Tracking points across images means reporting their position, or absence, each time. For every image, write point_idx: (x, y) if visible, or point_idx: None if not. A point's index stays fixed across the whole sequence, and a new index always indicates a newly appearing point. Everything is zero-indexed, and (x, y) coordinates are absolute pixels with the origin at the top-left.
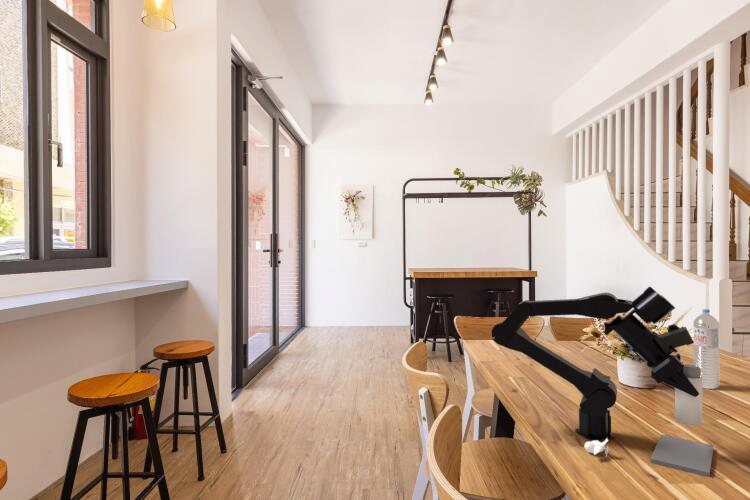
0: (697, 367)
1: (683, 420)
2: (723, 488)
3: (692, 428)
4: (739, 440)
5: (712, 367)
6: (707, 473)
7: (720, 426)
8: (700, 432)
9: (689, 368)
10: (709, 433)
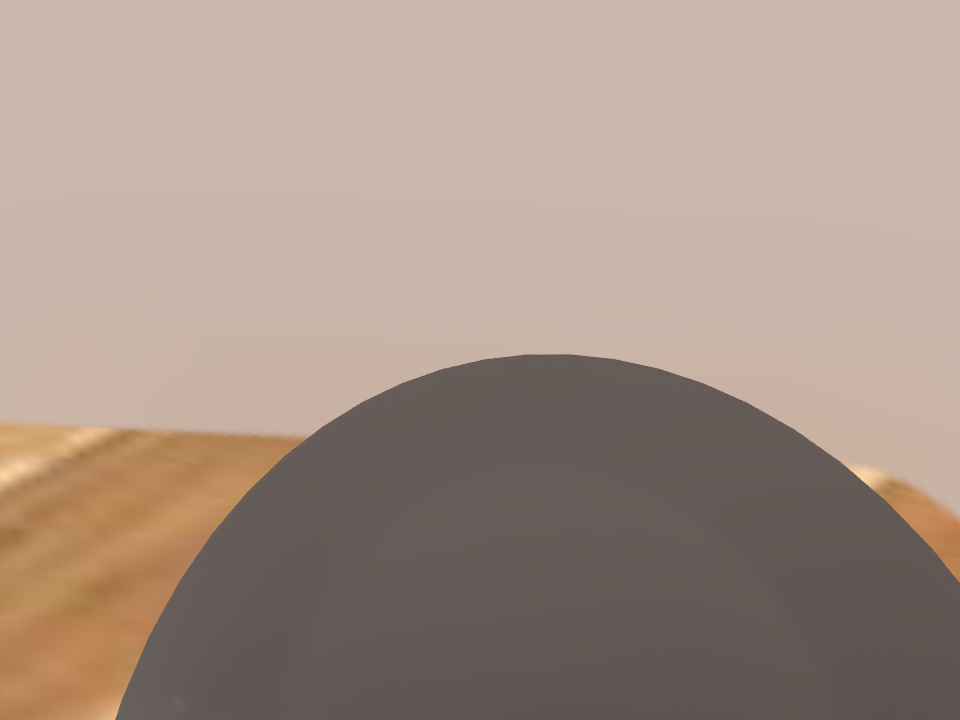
0: (508, 432)
1: None
2: (924, 540)
3: (70, 683)
4: (206, 447)
5: None
6: None
7: (2, 523)
8: (136, 634)
9: (945, 712)
10: (140, 583)
